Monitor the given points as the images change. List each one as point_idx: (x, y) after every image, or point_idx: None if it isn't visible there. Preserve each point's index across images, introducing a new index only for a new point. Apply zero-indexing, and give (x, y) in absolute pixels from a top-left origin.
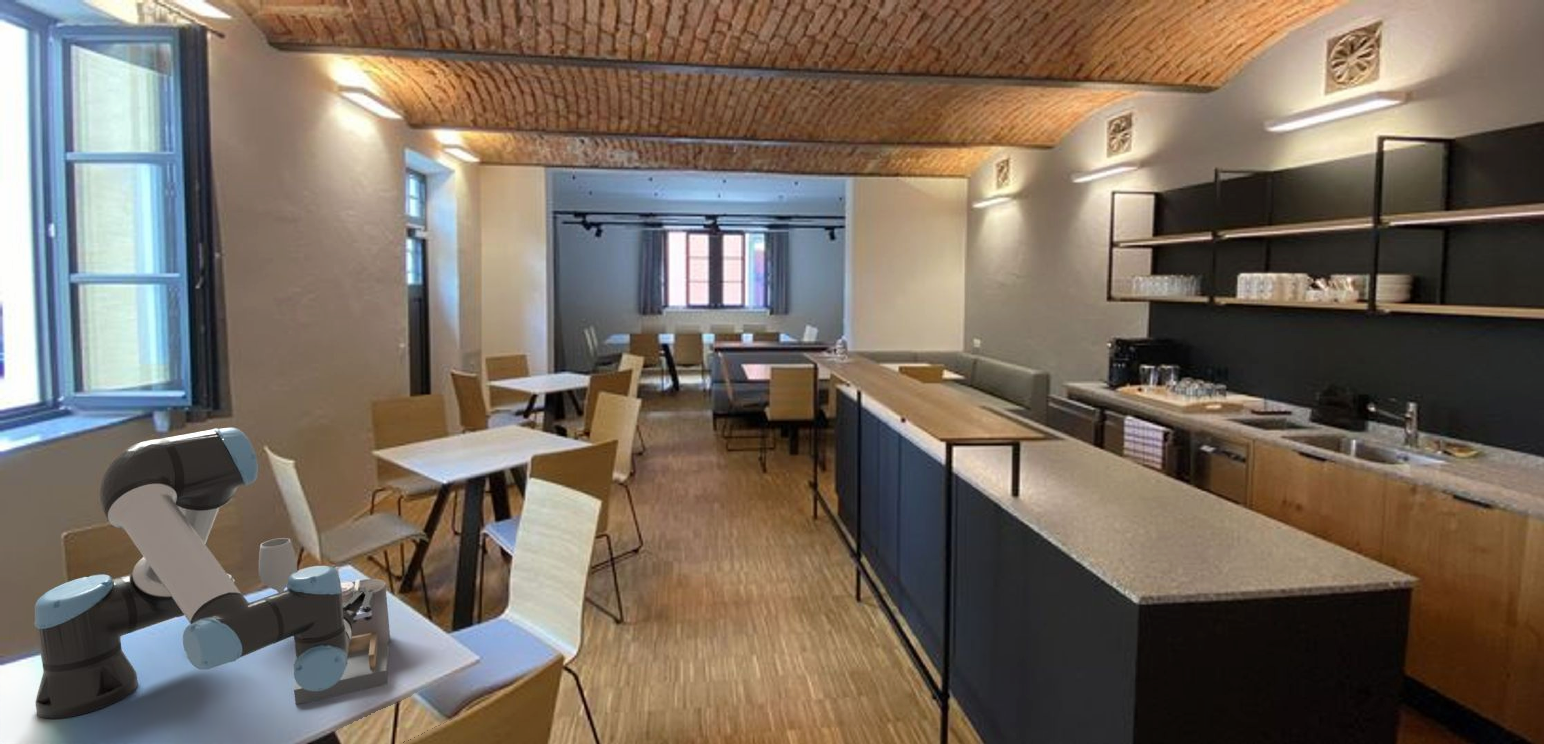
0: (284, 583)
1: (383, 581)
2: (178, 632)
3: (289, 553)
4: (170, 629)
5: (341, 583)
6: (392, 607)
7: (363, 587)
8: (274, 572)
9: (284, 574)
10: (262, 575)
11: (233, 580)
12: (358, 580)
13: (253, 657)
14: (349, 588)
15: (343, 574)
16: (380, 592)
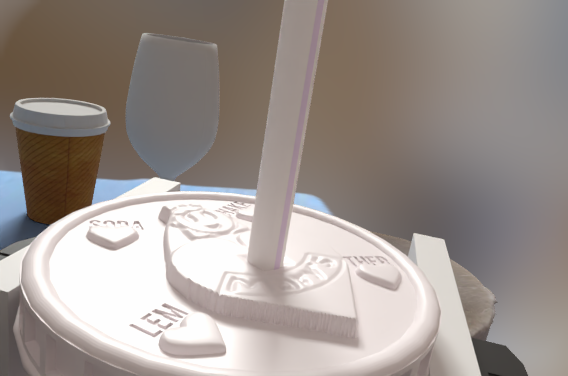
0: (171, 160)
1: (477, 281)
2: (9, 196)
3: (201, 78)
4: (9, 186)
5: (307, 225)
6: None
7: (502, 357)
8: (151, 117)
9: (174, 133)
10: (127, 117)
11: (106, 125)
12: (438, 251)
13: None
14: (397, 359)
15: (312, 201)
16: None
